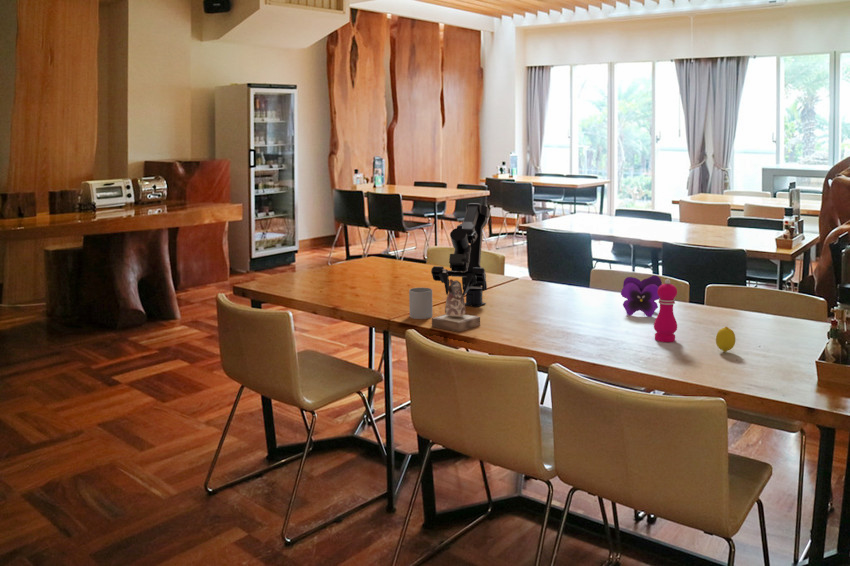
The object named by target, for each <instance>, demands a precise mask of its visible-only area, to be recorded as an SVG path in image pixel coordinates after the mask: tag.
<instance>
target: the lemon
mask: <svg viewBox="0 0 850 566" xmlns="http://www.w3.org/2000/svg"><path fill="white" fill-rule="evenodd" d="M715 337H716V338H715V344H716V346H717V348H718V349H720V350H721V351H722V352H723V353H727V351H731V350H732V349H733V348H734V346H735V345H736V334H735V332H734V330H732V329H731V328H729V327H728V326H724V327H722V328H720V329H719V330H718V331H717V333H716V336H715Z"/></svg>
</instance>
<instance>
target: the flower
mask: <svg viewBox="0 0 850 566" xmlns="http://www.w3.org/2000/svg"><path fill="white" fill-rule="evenodd" d="M662 282H663V281H662V279H661V277H659V276H658V275H652V276H649V277H647V278H644V279H642V280H640V279H639V278H637V277H633V276H627V277H625V279H624V280H623V284H622V289H621V292H620V295H621V297H622V298H624V299H626V300H624V302H623V303H622V306H623V308H624V310H625V311H626V315H628V316H632V315H633V314H635V313H636V312H639V311H641V312H643V314H644V315H646V317H647V318H648V317H653V315H654V313H655V311H656V310H657V309H658V308H659V306H658V302H656V301H659V298H660V297H659V296H658V293H657V291H658V288H659V286H661V285H662V284H663V283H662Z"/></svg>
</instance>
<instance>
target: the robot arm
mask: <svg viewBox="0 0 850 566" xmlns="http://www.w3.org/2000/svg"><path fill="white" fill-rule="evenodd" d="M488 218H490V209H489V207H488V206H487V205H483V204H482V203H479V202H469V203H467V205H466V206H465V215H464V218H463V222H462V223H459V224H458V225H457V226H456V228H454V229H452V230H451V232H450V233H449V236H450V241H451V244H452V247H453V249H454V250H453V251H454V253H450V254H449V259H448V263H449V269H450V270H449V269H447V268H444V266H443V265H442V266H439V265H438V266H437V265H434V266H433V267H431V271H430V272H431V277H432V279H433V281H436V282H437V281H438V282H440V283H443V284H444V289H445V295H447V296H448V294H449V286H450V280H449V279H450V277H452V278H453V277H454V278H455V277H456V278H461V282H462V283H461V287H462V293H463V295H464V296H465V302H464V303H465V306H467V307H468V306H469V307H474V308H476V307H477V308H478V307H480V306H484V305H486V302H483V291H487V290H488V284H487V279H486V278H487V275H486V274H487V273H486V270H485V268H484V267H482V266H481V258H482V256H481V255H482V244H483V230H484V228H485V226H486V225H487V223H488Z"/></svg>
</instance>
